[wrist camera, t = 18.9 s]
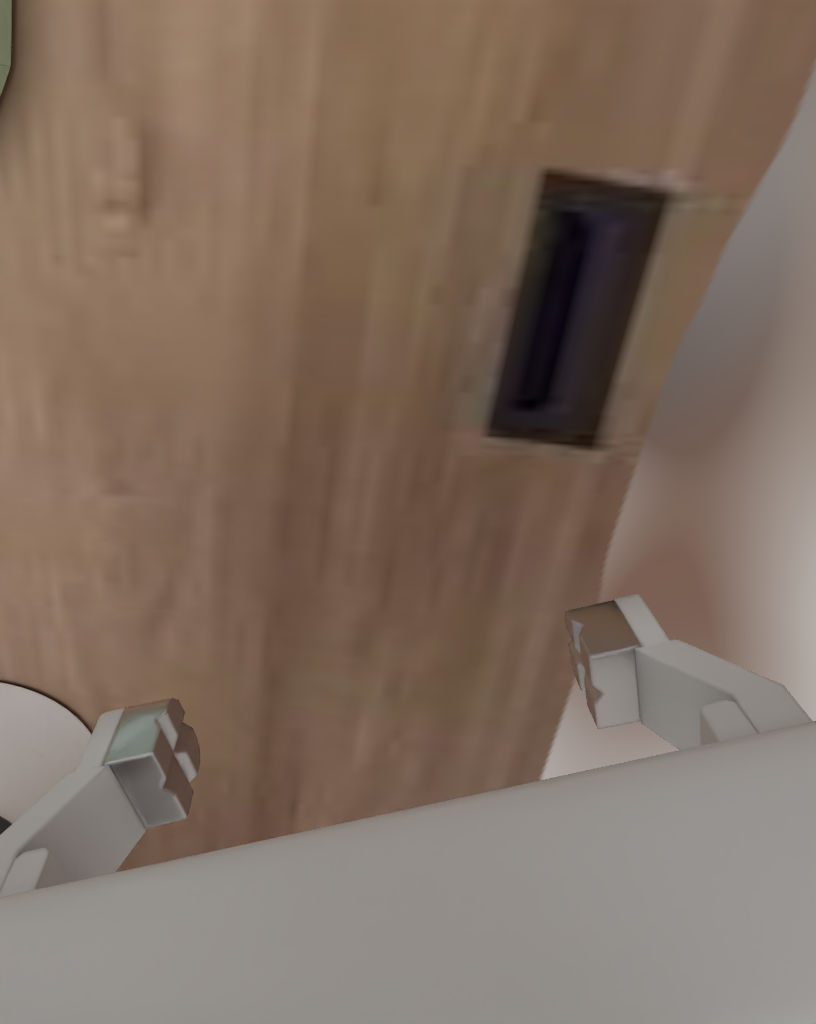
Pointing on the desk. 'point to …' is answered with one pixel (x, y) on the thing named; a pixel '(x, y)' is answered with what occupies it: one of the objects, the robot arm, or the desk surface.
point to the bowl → (5, 40)
